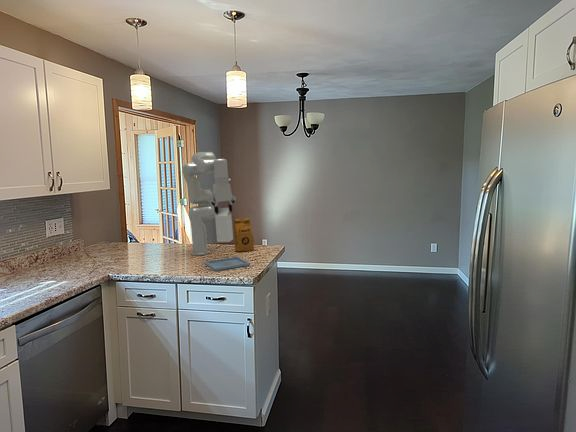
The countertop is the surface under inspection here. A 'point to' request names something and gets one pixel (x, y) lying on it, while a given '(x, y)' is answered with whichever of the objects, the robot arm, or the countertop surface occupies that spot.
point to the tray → (226, 263)
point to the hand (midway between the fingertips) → (223, 212)
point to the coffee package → (243, 235)
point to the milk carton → (224, 225)
